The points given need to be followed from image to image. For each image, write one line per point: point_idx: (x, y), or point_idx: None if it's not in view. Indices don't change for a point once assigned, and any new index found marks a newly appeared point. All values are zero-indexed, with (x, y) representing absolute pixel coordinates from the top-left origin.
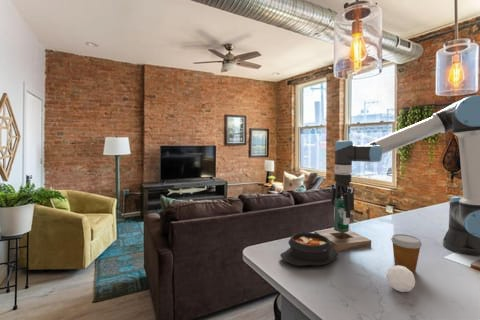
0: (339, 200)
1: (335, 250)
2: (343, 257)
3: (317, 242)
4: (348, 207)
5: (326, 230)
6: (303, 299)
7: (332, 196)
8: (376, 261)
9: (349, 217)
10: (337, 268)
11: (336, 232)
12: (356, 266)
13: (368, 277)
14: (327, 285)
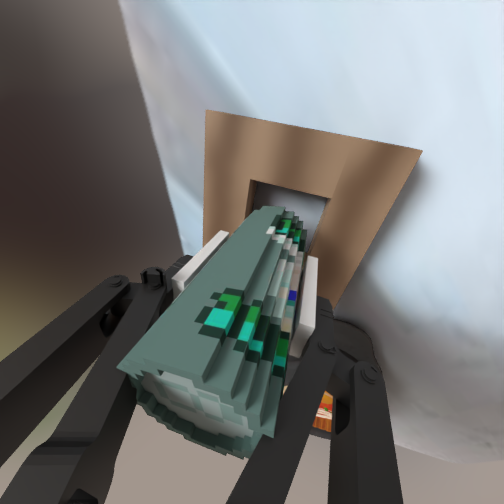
0: (228, 446)
1: (349, 327)
2: (374, 313)
3: (332, 398)
4: (343, 416)
5: (210, 227)
6: (412, 448)
7: (74, 373)
8: (491, 269)
9: (328, 305)
10: (398, 365)
11: (243, 213)
12: (437, 335)
13: (498, 365)
14: (421, 416)
